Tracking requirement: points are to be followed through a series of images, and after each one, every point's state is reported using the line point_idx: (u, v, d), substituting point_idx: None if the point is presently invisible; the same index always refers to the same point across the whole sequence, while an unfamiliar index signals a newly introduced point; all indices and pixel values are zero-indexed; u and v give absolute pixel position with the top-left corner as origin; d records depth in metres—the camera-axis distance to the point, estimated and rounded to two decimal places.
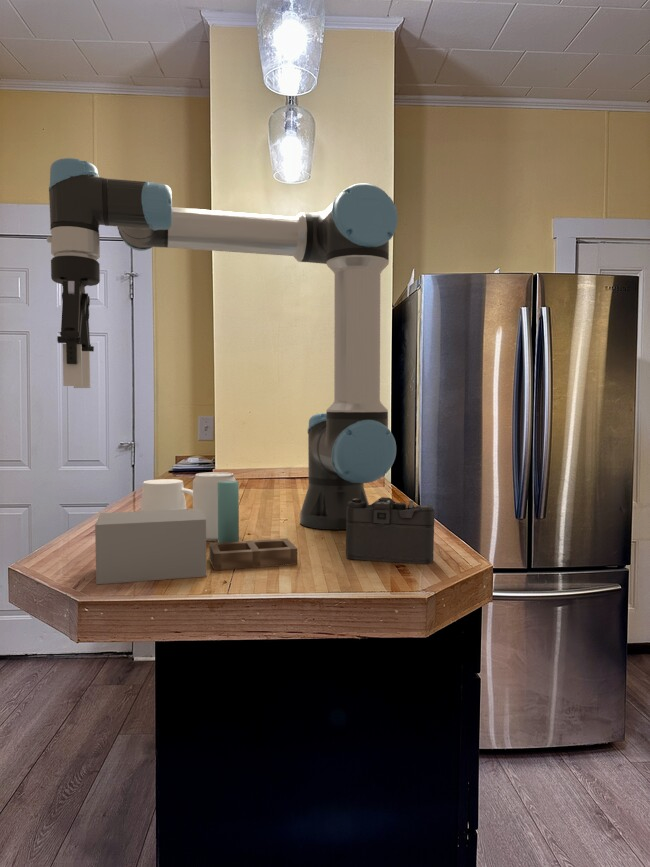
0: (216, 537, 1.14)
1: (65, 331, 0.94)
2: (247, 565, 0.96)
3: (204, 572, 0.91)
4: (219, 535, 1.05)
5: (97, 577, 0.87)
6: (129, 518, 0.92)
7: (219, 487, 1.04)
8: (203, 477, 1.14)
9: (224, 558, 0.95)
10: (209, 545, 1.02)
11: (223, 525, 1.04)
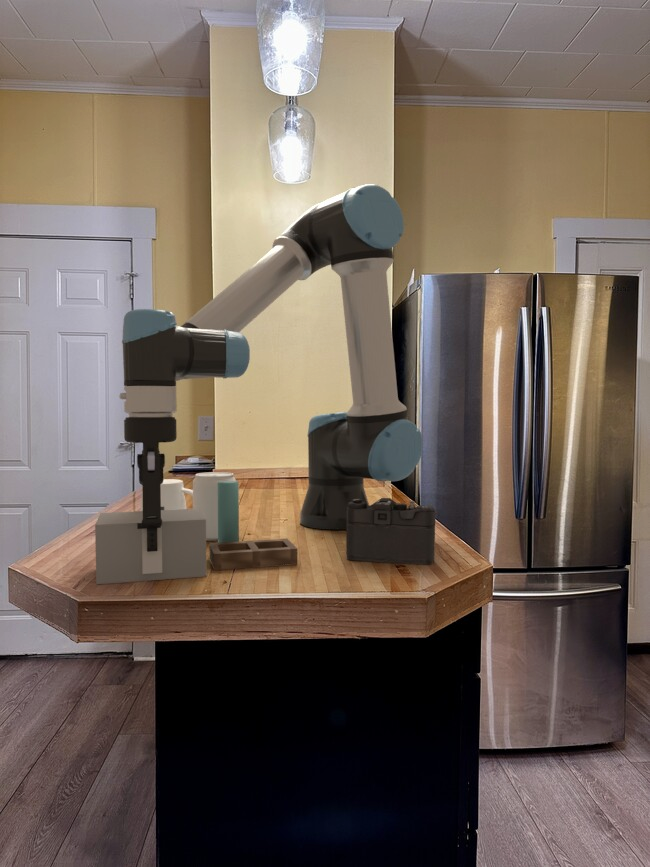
0: (216, 537, 1.14)
1: (147, 520, 0.85)
2: (247, 565, 0.96)
3: (204, 572, 0.91)
4: (219, 535, 1.05)
5: (97, 577, 0.87)
6: (129, 518, 0.92)
7: (219, 487, 1.04)
8: (203, 477, 1.14)
9: (224, 558, 0.95)
10: (209, 545, 1.02)
11: (223, 525, 1.04)
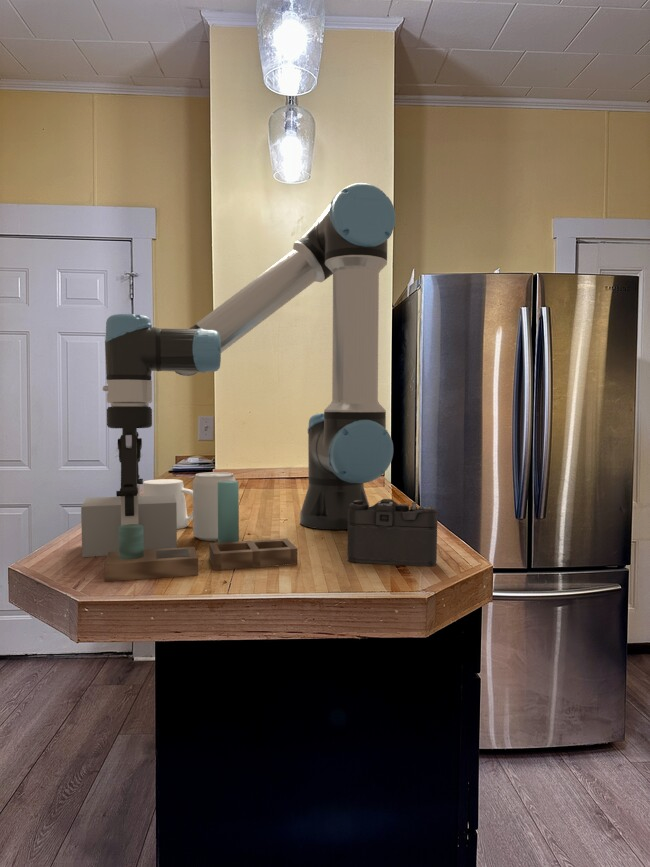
0: (216, 537, 1.14)
1: (124, 488, 0.99)
2: (247, 565, 0.96)
3: None
4: (219, 535, 1.05)
5: (83, 551, 1.03)
6: (111, 501, 1.07)
7: (219, 487, 1.04)
8: (203, 477, 1.14)
9: (224, 558, 0.95)
10: (209, 545, 1.02)
11: (223, 525, 1.04)
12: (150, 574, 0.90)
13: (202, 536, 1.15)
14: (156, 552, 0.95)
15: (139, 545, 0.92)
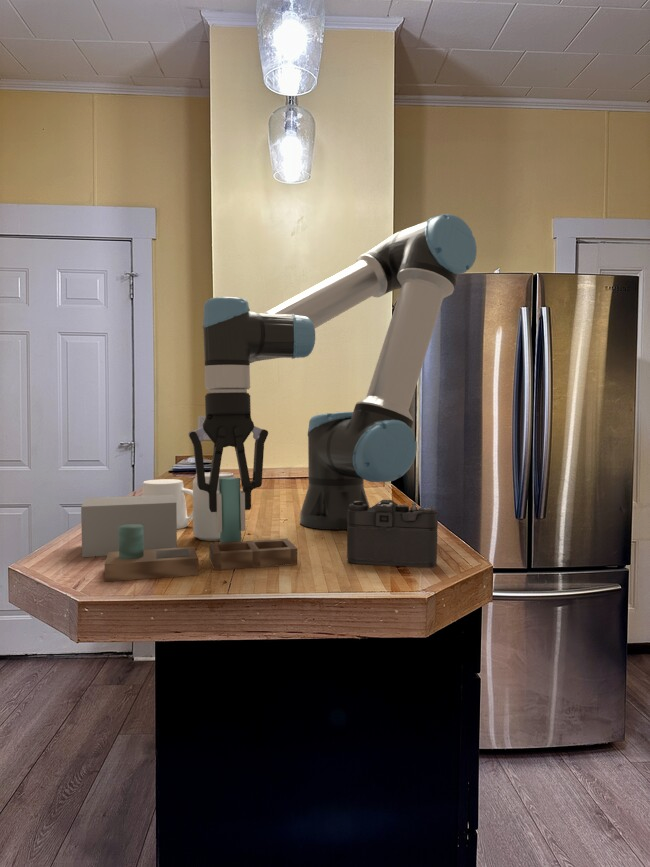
0: (216, 537, 1.14)
1: None
2: (247, 565, 0.96)
3: None
4: None
5: (83, 551, 1.03)
6: (111, 501, 1.07)
7: (221, 484, 1.04)
8: None
9: (224, 558, 0.95)
10: (209, 545, 1.02)
11: (225, 522, 1.04)
12: (150, 574, 0.90)
13: (202, 536, 1.15)
14: (156, 552, 0.95)
15: (139, 545, 0.92)
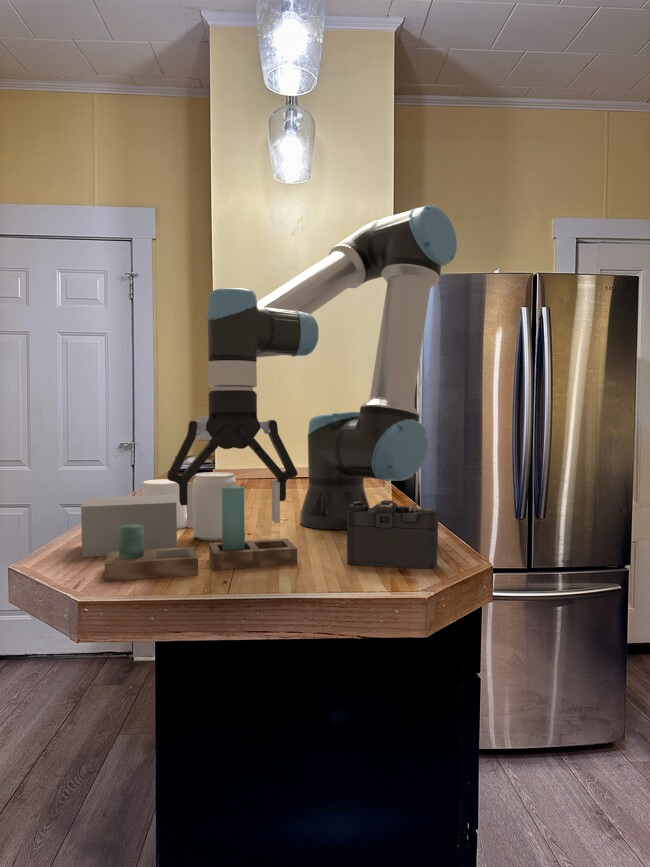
0: (216, 537, 1.14)
1: (168, 474, 0.96)
2: (247, 565, 0.96)
3: None
4: (223, 544, 0.98)
5: (83, 551, 1.03)
6: (111, 501, 1.07)
7: (223, 493, 0.97)
8: (203, 477, 1.14)
9: (224, 558, 0.95)
10: (209, 545, 1.02)
11: (228, 534, 0.97)
12: (150, 574, 0.90)
13: (202, 536, 1.15)
14: (156, 552, 0.95)
15: (139, 545, 0.92)
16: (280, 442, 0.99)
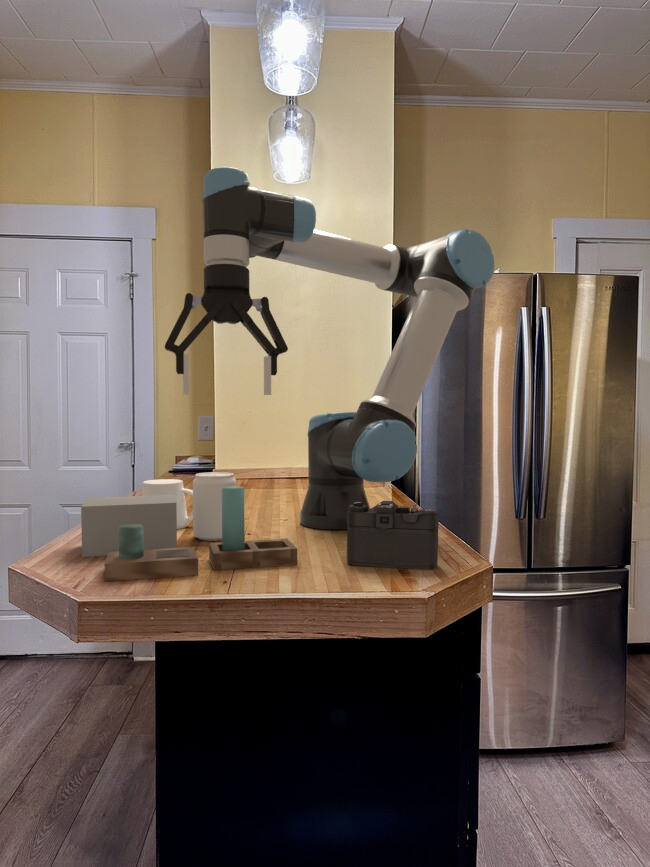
0: (216, 537, 1.14)
1: None
2: (247, 565, 0.96)
3: None
4: (223, 544, 0.98)
5: (83, 551, 1.03)
6: (111, 501, 1.07)
7: (223, 493, 0.98)
8: (203, 477, 1.14)
9: (224, 558, 0.95)
10: (209, 545, 1.02)
11: (228, 534, 0.97)
12: (150, 574, 0.90)
13: (202, 536, 1.15)
14: (156, 552, 0.95)
15: (139, 545, 0.92)
16: (271, 318, 1.05)
